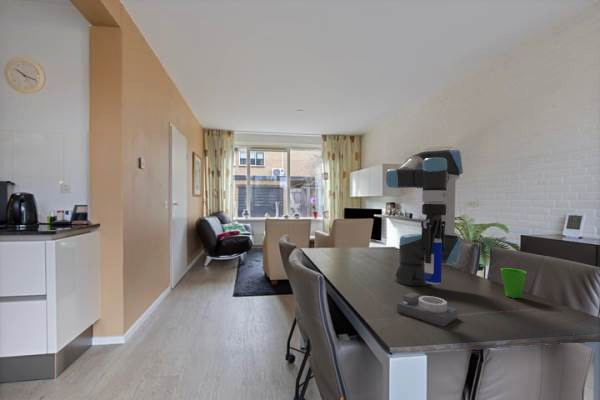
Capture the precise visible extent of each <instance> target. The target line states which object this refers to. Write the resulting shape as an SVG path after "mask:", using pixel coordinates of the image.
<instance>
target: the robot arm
mask: <svg viewBox="0 0 600 400" xmlns="http://www.w3.org/2000/svg"><path fill="white" fill-rule="evenodd" d="M463 170H464V169H463V161H462V155H461V151H460V150H459V149H445V150H444V149H443V150H442V149H441V150H428V151H426V150H425V151H421V152H418V153H415V154H412V155H411V156H409V157H407V159H406V160H405V162H404V163H403V164H402V165H401V166H400V167H399V168H389V169H388V170H387V171H386V174H385V183H386V186H387V187H388V188H391V189H397V188H398V189H402V188H403V189H405V188H406V189H409V188H411V189H412V188H418V189H419V188H420V189H421V188H422V194H421V196H422V197H421V198H422V199H421V202H422V203H423V204H421V205H422V206H421V213H422V215H423V216H426V217H425V221H421V222H420V225H421V226H420V227H421V233H411V234H410V233H409V234H404V235H401V236H400V237H399V245H398V246H399V251H398V252H399V253H398V255H399V257H398V258H399V259H398V260H399V263H398V267H397V270H396V273H395V274H394V275H395V276H394V277H395V279H394V281H395V282H397V283H399V284H401V285H405V286H410V287H411V286H412V287H423V286H425V287H426V286H428V285H429V283H427V282H426V281H425V272H426V273H431V274H434V254H432V253H433V245H434V238H439V239H441V241H442V265H445V266H447V265H457V264H458V262H459V259H460V253H461V247H462V239H459V235H458V234H457V233H456V232H455V227H456V226H455V225H456V224H455V223H456V221H455V220H456V216H455V215H456V214H455V213H456V183H457V182H456V181H457V180H459V179H460V175H462V174H463V173H464V171H463Z"/></svg>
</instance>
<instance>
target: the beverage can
mask: <svg viewBox="0 0 600 400" xmlns="http://www.w3.org/2000/svg"><path fill="white" fill-rule="evenodd" d="M432 254H434V274H431V273H426V272H425V281H426V282H427V283H428V285H429V284H430V285H440V284H441V283H442V266H443V264H442V241H441V239H439V238H434V245H433V253H432Z"/></svg>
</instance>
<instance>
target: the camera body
mask: <svg viewBox="0 0 600 400" xmlns="http://www.w3.org/2000/svg"><path fill="white" fill-rule="evenodd" d="M396 312H397V313H400V314H404V315H407V316H410V317H412V318H415V319H418V320H419V319H420V320H422V321H424V322H427V323H431V324H434V325H436V326H440V327H446V326H447V325H448V324H450V323H452V322H453V321H455V320H457V319H458V308H455V307H451V306H449V305H448V302H447V300H445V299H443V298H440V297H437V296H432V295H431V296H430V295H420V293H417V292H416V293H415V292H412V291H411V292H409V293H407V294H403V300H401V301H399V302H397V303H396Z"/></svg>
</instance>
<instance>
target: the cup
mask: <svg viewBox="0 0 600 400" xmlns="http://www.w3.org/2000/svg"><path fill="white" fill-rule="evenodd" d="M499 270H500V271H501V277H502V283H503V288H504V295H505V296H506V297H507V296H509V297H512V298H511V299H514V298H520V299H521V298H522V293H523V289H524V284H525V280H526V274H528V272H527V271H526V270H522V269H518V268H510V267H508V268H507V267H504V268H500V269H499ZM509 297H508V298H509Z"/></svg>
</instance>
